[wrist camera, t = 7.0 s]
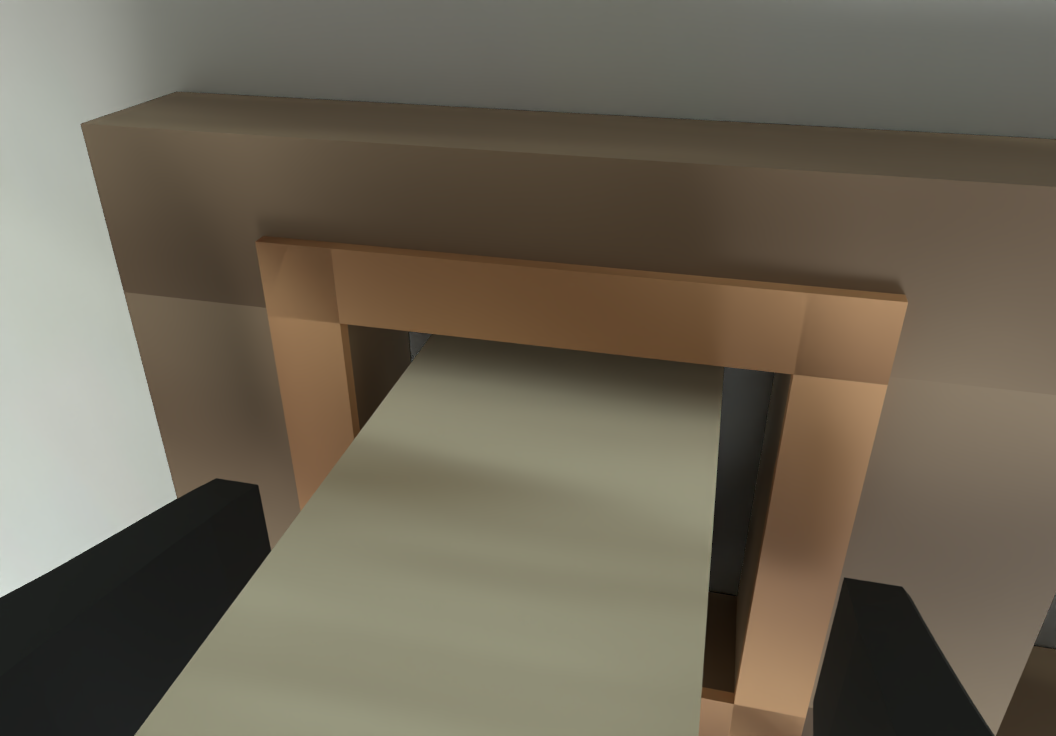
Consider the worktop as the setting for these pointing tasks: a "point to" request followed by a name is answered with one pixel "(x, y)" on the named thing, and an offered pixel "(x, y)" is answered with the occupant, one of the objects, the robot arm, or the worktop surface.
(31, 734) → the robot arm
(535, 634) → the peg
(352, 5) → the worktop surface
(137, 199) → the brown slotted board
